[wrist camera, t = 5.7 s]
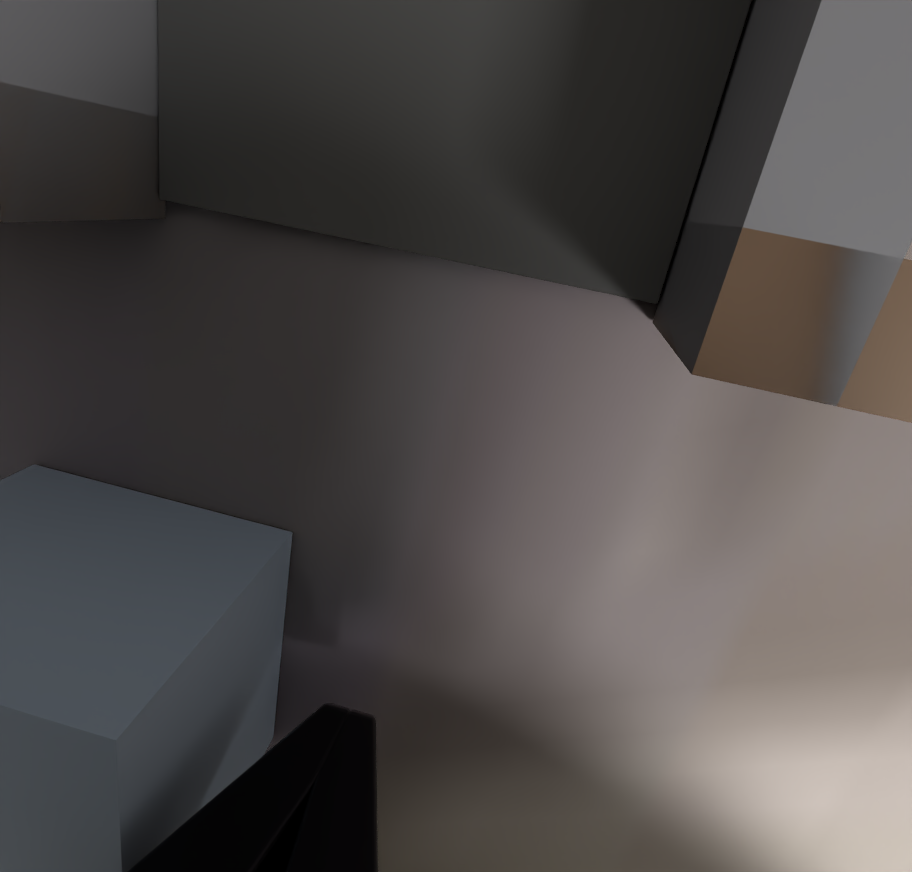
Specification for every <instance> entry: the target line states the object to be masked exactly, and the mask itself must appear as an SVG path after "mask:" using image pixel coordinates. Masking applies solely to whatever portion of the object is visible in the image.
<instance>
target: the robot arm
mask: <svg viewBox="0 0 912 872" xmlns="http://www.w3.org/2000/svg"><path fill="white" fill-rule="evenodd" d="M127 872H378V835H377V770H376V720H375V717H374V716H372V715H370V714H366V713H363V712H359V711H356V710H350V709H348V708H345V707H342V706H339V705H335V704H332V703H327V704H324V705H322V706H321V707H320V708H319V709H318V710H316V711H315V712H314V713H313V714H312V715H311V716H309V717H308V718H307V719H306V720H305V721H303V722H302V723H301V724H300V725H299V726H298V727H296V728H295V729H294V730H293V731H292V732H291V733H289V734H288V735H287V736H286V737H285V738H283V739H282V740H281V741H280V742H279V743H278V744H276V745H275V746H274V747H273V748H272V749H271V750H269V751H268V752H267V753H266V754H265V755H263V756H262V757H261V758H260V759H259V760H258V761H256V762H255V763H254V764H253V765H252V766H251V767H249V768H248V769H247V770H246V771H245V772H244V773H242V774H241V775H240V776H239V777H238V778H236V779H235V780H234V781H233V782H232V783H231V784H229V785H228V786H227V787H226V788H225V789H224V790H222V791H221V792H220V793H219V794H218V795H216V796H215V797H214V798H213V799H212V800H211V801H209V802H208V803H207V804H206V805H205V806H204V807H202V808H201V809H200V810H199V811H198V812H196V813H195V814H194V815H193V816H192V817H191V818H189V819H188V820H187V821H186V822H185V823H184V824H182V825H181V826H180V827H179V828H178V829H176V830H175V831H174V832H173V833H172V834H171V835H169V836H168V837H167V838H166V839H165V840H164V841H162V842H161V843H160V844H159V845H158V846H157V847H155V848H154V849H153V850H152V851H151V852H149V853H148V854H147V855H146V856H145V857H144V858H142V859H141V860H140V861H139V862H138V863H137V864H135V865H134V866H133V867H132V868H131V869H129V870H128V871H127Z"/></svg>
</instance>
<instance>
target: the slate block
mask: <svg viewBox="0 0 912 872" xmlns="http://www.w3.org/2000/svg"><path fill="white" fill-rule="evenodd" d="M292 533H293V532H290V531H286V530H282V529H278V528H274V527H271V526H267V525H263V524H259V523H255V522H252V521H248V520H244V519H240V518H236V517H233V516H229V515H225V514H221V513H217V512H214V511H210V510H206V509H202V508H198V507H195V506H191V505H187V504H183V503H179V502H176V501H172V500H168V499H164V498H160V497H156V496H153V495H149V494H145V493H141V492H137V491H134V490H130V489H126V488H122V487H118V486H115V485H111V484H107V483H103V482H99V481H96V480H92V479H88V478H84V477H80V476H77V475H73V474H69V473H65V472H61V471H58V470H54V469H50V468H46V467H42V466H38V465H35V464H33V465H31V466H29V467H27V468H25V469H23V470H21V471H19V472H17V473H15V474H13V475H11V476H8V477H6V478H4V479H2V480H0V872H127V871H128V870H129V869H131V868H132V867H133V866H134V865H135V864H137V863H138V862H139V861H140V860H141V859H142V858H144V857H145V856H146V855H147V854H148V853H149V852H151V851H152V850H153V849H154V848H155V847H157V846H158V845H159V844H160V843H161V842H162V841H164V840H165V839H166V838H167V837H168V836H169V835H171V834H172V833H173V832H174V831H175V830H176V829H178V828H179V827H180V826H181V825H182V824H184V823H185V822H186V821H187V820H188V819H189V818H191V817H192V816H193V815H194V814H195V813H196V812H198V811H199V810H200V809H201V808H202V807H204V806H205V805H206V804H207V803H208V802H209V801H211V800H212V799H213V798H214V797H215V796H216V795H218V794H219V793H220V792H221V791H222V790H224V789H225V788H226V787H227V786H228V785H229V784H231V783H232V782H233V781H234V780H235V779H236V778H238V777H239V776H240V775H241V774H242V773H244V772H245V771H246V770H247V769H248V768H249V767H251V766H252V765H253V764H254V763H255V762H256V761H258V760H259V759H260V758H261V757H262V756H263V755H264V753H265V752H266V750H267V748H268V746H269V744H270V743H271V741H272V739H273V736H274V725H275V714H276V704H277V693H278V682H279V672H280V661H281V650H282V640H283V629H284V618H285V608H286V597H287V587H288V576H289V565H290V555H291V544H292Z"/></svg>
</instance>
